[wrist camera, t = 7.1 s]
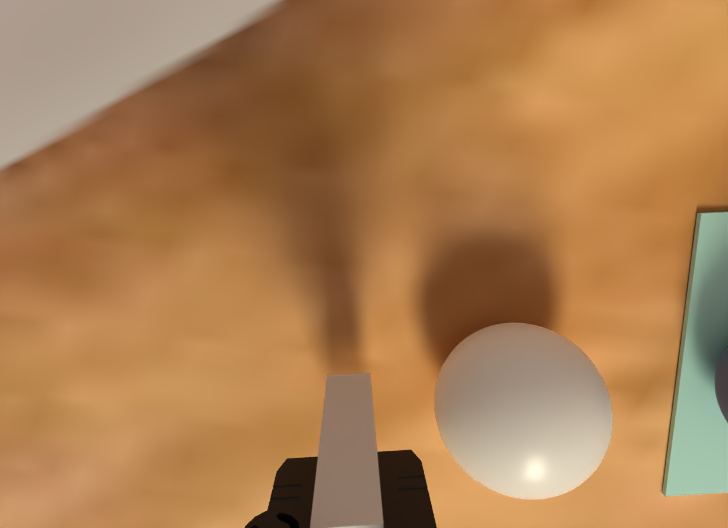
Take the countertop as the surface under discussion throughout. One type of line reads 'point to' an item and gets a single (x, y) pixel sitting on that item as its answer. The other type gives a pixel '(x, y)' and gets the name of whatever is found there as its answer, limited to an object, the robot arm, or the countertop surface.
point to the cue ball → (523, 411)
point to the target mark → (701, 369)
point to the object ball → (722, 383)
